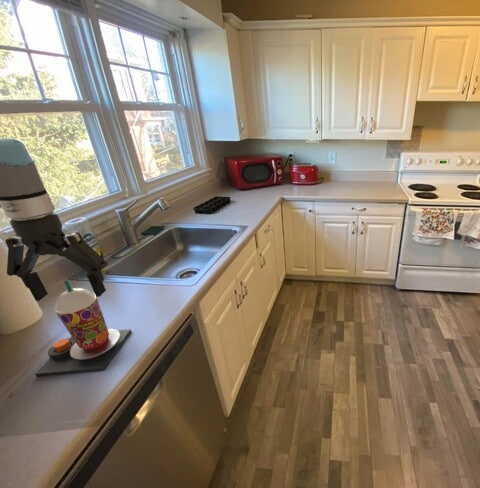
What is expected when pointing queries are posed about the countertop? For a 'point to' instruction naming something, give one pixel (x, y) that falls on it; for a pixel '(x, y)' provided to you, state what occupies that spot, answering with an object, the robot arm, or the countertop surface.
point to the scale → (68, 365)
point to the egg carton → (211, 205)
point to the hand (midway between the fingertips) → (72, 295)
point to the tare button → (61, 345)
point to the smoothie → (82, 317)
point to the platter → (87, 354)
